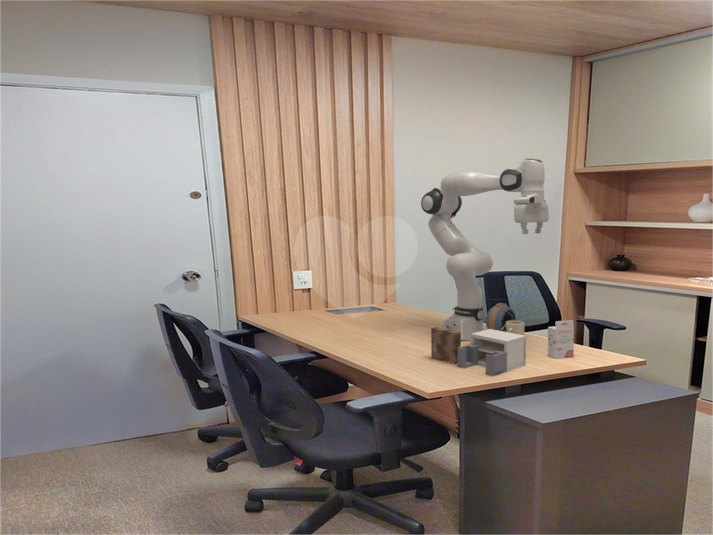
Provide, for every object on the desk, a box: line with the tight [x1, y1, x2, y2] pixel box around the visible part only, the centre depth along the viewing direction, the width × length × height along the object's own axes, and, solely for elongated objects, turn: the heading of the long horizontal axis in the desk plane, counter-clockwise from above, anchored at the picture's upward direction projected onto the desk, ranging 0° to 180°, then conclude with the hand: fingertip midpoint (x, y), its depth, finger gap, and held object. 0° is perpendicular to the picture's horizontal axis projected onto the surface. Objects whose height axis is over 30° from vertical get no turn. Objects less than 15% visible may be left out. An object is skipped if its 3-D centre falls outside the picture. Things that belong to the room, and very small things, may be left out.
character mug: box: [506, 320, 525, 335], centre depth 204 cm, size 11×7×13 cm, turn 138°
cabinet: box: [457, 328, 527, 377], centre depth 189 cm, size 16×20×11 cm
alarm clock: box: [485, 302, 517, 332], centre depth 222 cm, size 14×10×18 cm
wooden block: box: [430, 326, 462, 365], centre depth 197 cm, size 12×4×12 cm, turn 40°
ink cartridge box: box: [547, 319, 575, 359], centre depth 200 cm, size 9×5×15 cm, turn 106°
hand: (531, 233), depth 206 cm, fingers open, 8 cm apart
